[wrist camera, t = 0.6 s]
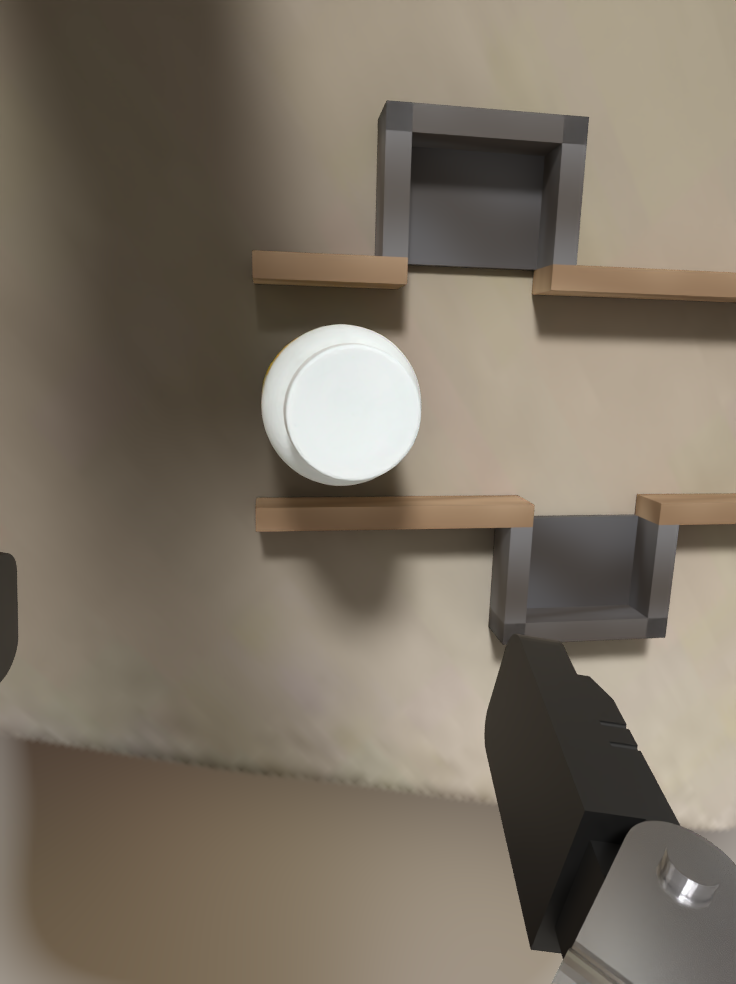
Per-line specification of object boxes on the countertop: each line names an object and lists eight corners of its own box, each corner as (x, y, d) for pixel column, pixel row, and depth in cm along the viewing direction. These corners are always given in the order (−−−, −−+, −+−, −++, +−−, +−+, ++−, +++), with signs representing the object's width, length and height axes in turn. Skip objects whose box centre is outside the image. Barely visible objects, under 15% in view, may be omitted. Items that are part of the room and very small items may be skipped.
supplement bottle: (268, 461, 28) (266, 512, 19) (256, 334, 27) (249, 323, 18) (389, 451, 29) (446, 497, 20) (384, 328, 28) (440, 314, 18)
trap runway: (251, 109, 25) (250, 89, 23) (839, 155, 29) (880, 140, 27) (258, 635, 30) (257, 655, 28) (766, 615, 33) (797, 631, 32)
